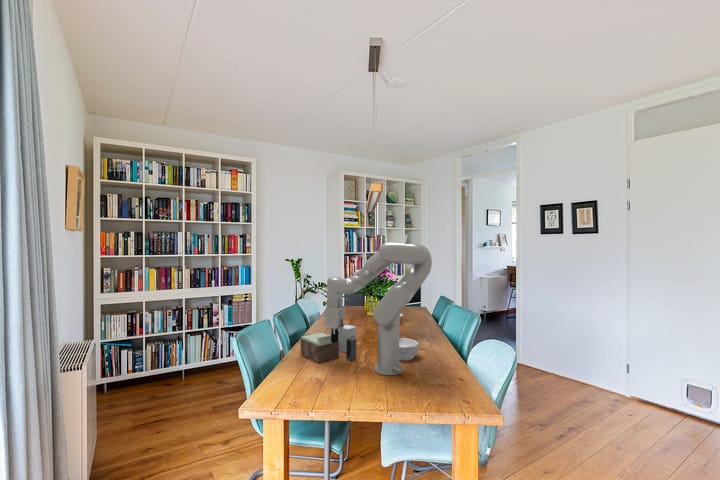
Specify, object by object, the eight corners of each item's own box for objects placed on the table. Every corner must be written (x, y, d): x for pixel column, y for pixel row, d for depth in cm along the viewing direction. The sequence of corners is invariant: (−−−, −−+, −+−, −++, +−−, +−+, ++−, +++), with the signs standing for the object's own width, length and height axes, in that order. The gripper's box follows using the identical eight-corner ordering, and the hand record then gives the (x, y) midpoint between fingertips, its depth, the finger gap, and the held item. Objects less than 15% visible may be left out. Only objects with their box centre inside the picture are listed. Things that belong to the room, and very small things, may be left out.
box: (338, 358, 173) (338, 342, 173) (318, 363, 165) (318, 346, 165) (315, 347, 190) (315, 333, 190) (295, 352, 182) (295, 336, 182)
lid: (338, 341, 173) (339, 334, 173) (318, 346, 165) (318, 338, 165) (321, 334, 185) (321, 327, 185) (301, 338, 178) (301, 331, 178)
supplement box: (347, 353, 181) (347, 329, 181) (337, 350, 185) (337, 326, 185) (356, 349, 187) (356, 326, 187) (345, 347, 191) (346, 324, 191)
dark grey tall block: (356, 359, 171) (356, 339, 171) (350, 361, 169) (351, 340, 169) (351, 357, 174) (351, 337, 174) (346, 359, 172) (346, 339, 172)
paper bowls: (415, 364, 165) (415, 347, 165) (384, 360, 170) (384, 344, 170) (420, 354, 179) (420, 339, 179) (392, 351, 184) (392, 336, 184)
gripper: (319, 302, 169) (319, 339, 169) (337, 306, 157) (337, 347, 157) (332, 300, 174) (332, 337, 174) (350, 304, 162) (350, 344, 162)
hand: (334, 341), depth 165 cm, fingers closed
